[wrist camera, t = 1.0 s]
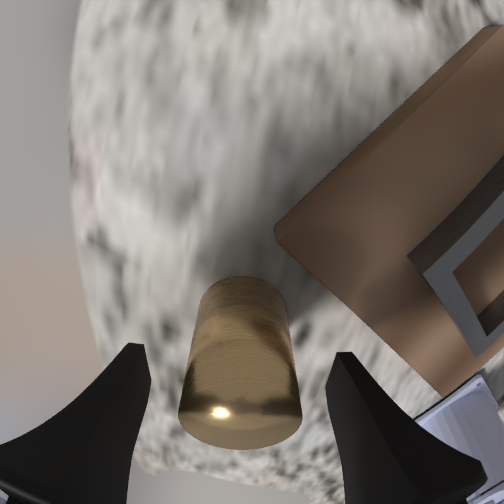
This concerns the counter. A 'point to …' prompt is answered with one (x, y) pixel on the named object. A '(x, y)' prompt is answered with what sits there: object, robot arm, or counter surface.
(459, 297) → the frame
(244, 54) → the counter surface
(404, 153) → the jig plate
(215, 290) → the brass cylinder
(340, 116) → the counter surface
